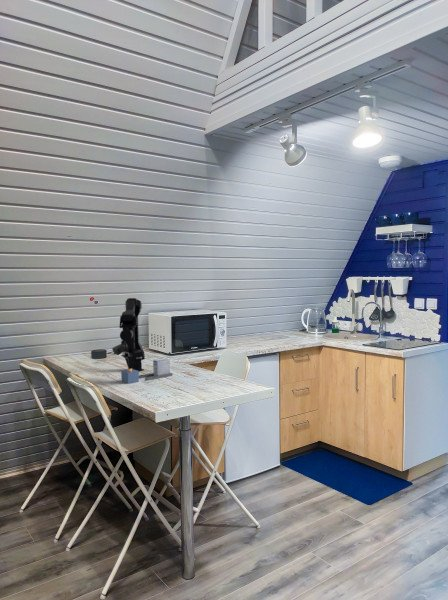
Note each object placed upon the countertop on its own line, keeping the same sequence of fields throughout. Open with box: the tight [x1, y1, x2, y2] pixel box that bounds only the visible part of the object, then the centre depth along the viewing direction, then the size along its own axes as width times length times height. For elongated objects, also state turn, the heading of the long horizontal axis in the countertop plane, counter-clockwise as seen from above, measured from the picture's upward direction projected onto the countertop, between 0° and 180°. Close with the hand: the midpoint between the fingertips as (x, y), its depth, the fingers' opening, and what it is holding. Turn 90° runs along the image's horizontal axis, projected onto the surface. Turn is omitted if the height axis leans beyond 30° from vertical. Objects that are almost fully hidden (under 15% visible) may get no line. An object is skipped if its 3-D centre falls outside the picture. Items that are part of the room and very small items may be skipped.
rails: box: [139, 372, 173, 381], centre depth 238 cm, size 8×16×1 cm, turn 130°
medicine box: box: [152, 358, 171, 376], centre depth 241 cm, size 8×4×9 cm, turn 130°
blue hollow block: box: [120, 369, 140, 385], centre depth 228 cm, size 7×6×6 cm
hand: (129, 368), depth 228 cm, fingers closed, pressing on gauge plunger
